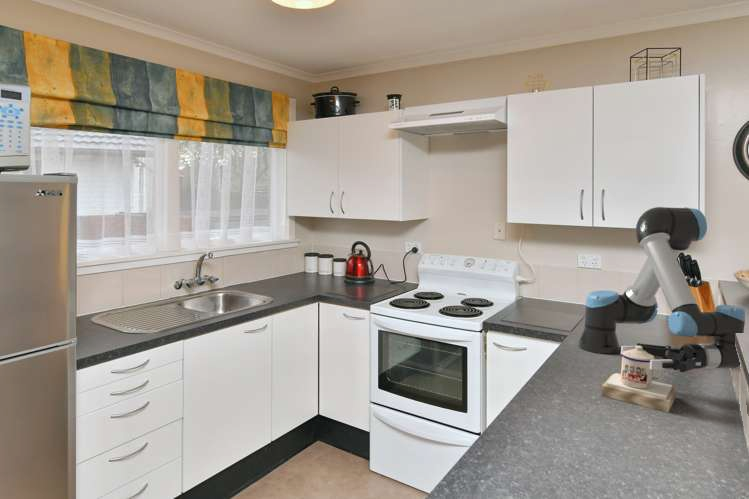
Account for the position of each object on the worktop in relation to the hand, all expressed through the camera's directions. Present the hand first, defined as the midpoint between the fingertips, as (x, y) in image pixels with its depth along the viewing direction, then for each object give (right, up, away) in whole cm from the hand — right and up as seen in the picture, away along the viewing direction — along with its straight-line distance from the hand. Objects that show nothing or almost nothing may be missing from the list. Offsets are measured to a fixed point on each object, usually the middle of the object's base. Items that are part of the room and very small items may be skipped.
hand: (635, 357), depth 151 cm
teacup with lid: (+2, -9, 0) cm, 9 cm away
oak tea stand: (+2, -12, +2) cm, 13 cm away
